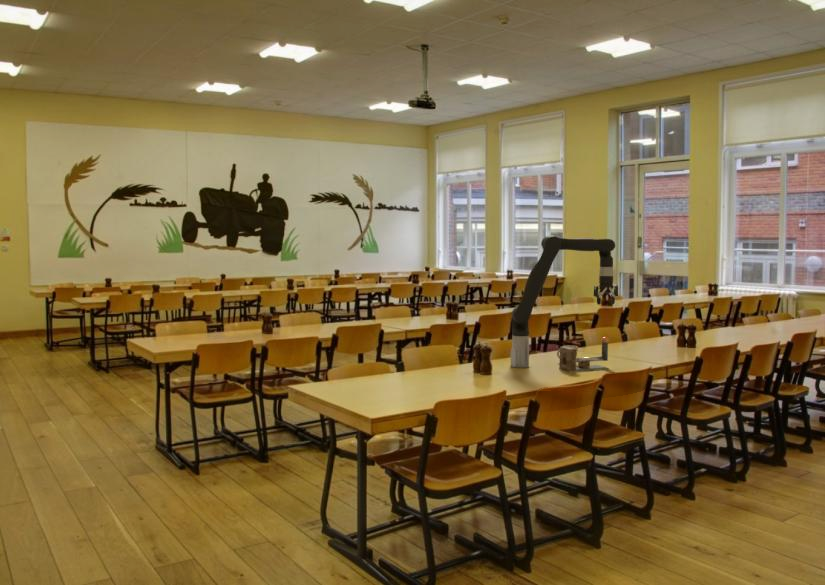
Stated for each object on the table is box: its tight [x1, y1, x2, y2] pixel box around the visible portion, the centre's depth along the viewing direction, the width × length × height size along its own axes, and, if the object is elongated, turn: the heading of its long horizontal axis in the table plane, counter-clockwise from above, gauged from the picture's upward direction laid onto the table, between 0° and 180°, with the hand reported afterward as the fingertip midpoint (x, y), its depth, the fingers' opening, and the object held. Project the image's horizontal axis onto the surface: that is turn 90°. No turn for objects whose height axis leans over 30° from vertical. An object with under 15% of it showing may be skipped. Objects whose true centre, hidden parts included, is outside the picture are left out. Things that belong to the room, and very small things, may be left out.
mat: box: [558, 364, 610, 373], centre depth 391 cm, size 24×11×1 cm, turn 109°
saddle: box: [577, 360, 591, 369], centre depth 391 cm, size 4×5×5 cm
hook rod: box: [576, 336, 610, 363], centre depth 392 cm, size 21×4×13 cm, turn 109°
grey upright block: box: [559, 345, 577, 373], centre depth 388 cm, size 4×10×12 cm, turn 19°
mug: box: [556, 344, 579, 360], centre depth 408 cm, size 8×13×10 cm, turn 53°
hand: (605, 304), depth 400 cm, fingers open, 8 cm apart
